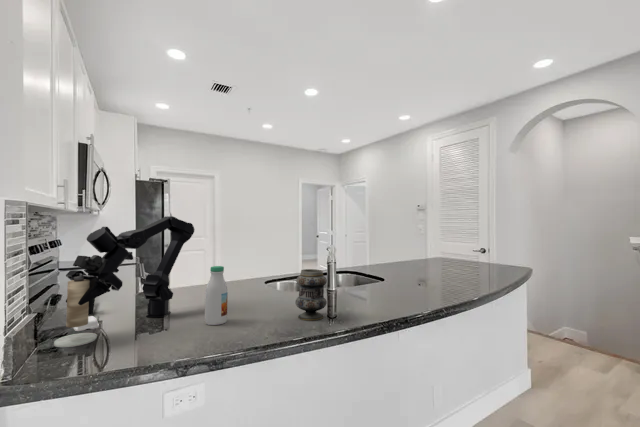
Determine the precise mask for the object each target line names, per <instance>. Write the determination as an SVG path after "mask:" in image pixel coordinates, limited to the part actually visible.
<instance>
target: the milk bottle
mask: <svg viewBox="0 0 640 427" xmlns="http://www.w3.org/2000/svg"><path fill="white" fill-rule="evenodd" d="M224 269H225V267H224V266H222V265H216V266H215V265H213V266H211V267H210V269H209V270H210V278H209V280H208V281H207V285H206V287H205V293H204V294H205V298H204V323H205V325H209V326H216V325H217V326H218V325H223V324H225V323H227V322H228V296H229V294H228V293H229V292H228V285H227V283H226V280H225V277H224V271H225V270H224Z"/></svg>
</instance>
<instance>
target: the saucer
mask: <svg viewBox="0 0 640 427" xmlns="http://www.w3.org/2000/svg"><path fill="white" fill-rule="evenodd" d="M97 337H98V334H96V333H95V332H80V333H79V332H78V333H73V334H69V335H65V336H62V337H60V338H57V339H55V340H54V342H53V345H54V347H56V348H61V349H62V348H74V347H79V346H83V345H87V344H90V343H92V342H94V341H96V340H97V339H98V338H97Z"/></svg>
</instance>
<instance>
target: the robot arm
mask: <svg viewBox="0 0 640 427" xmlns="http://www.w3.org/2000/svg"><path fill="white" fill-rule="evenodd" d="M166 230H168V231H170V237H171V239H170V242H169V244H168V246H167V248H166V250H165V252H164V254H163V257H162V258H161V260H160V263H159V265H158V266H157V268H156V270H155V272H154V273H152V274H150V273H148V274H146V278H145V280H144V281H143V282H142V285H143V286H142V292H143V294H144V298H145V300H148V303H147V310H146V311H147V314H146V315H145V317H146V318H164V317H166V316H168V315H169V314H170V313H171V311H169V306H170V304H169V302H170V300H171V299H173V296H174V292H173V291H172V290H171V289H170V288H169V287H170V277H169V276H170V274H171V272H172V269H173V267H174V265H175V263H176V261H177V260H178V258H179V254H180V252H181V250H182V248H183V246H184V244H186V243H187V242H188V241H189V240H191V238H192V237H193V236H194V233H195V227H194V225H193V223H191V222H187V221H185V220H182V219H179V218H177V217H175V216H171V215H170V216H167V215H166V216H163V217H162V218H161V219H158V220H156V221H154V222H152V223H151V222H150V223H149V224H147V225H145V226H143V227H141V228H138V229H133V230H132V229H131V230H128V231H127V230H126V231H123V232H120V233H119V234H118V235H117V236H116V235H115V234H114V233H113V232H112V231H111V229H110V227H108V226H101V227H100V228H99V229H96V230H95V231H92V232H90V233H89V234H88V235H87V237H86V241H87V242H88V243H89V244H90V245H91V246H92V247H93V248H94V249H95V250H96V251H97V252H98V253H100V254H102V253H105V254H103V255H102V256H101V255H98V254H93V255H92V256H88V255H77V257H76V259H75V260H74V262H73V264H72V266H73V267H78V268H81V269H83V270H81V269H80V270H79V269H73V270H72V269H71V270H69V271H68V272H67V273H66V275H65V277H66V278H68V280H69V281H72V280H74V277H78V276H84V279H87V280H90V282H89V284H90V283H91V285H90V287H89V289H88V290H87V291H86V293H85V294H84V295H83V297H82V298H81V299H80V301H79V302H78V304H79V305H83V304H85V303H87V302H89V301H90V300H92V299H94V298H95V299H96V298H98V297H100V296H102V295H104V294H107V293H109V292H111V290H112V291H118V292H119V290H121V288H122V287H123V280H121V279H120V277H118V276H117V275H116V274H117V273H118V272H119V271H120V270H119V267H120V266H121V265H122V264H123V262H124V261H125V260H127V261H133V260H134V256H133V252H132V251H128V250H129V249H131V250H133V249H134V250H137V249H140V248H141V247H142V246H144V245H145V244H146V242H147V241H148V240H149V239H150V238H152V237H154V236H156V235H158V234H160V233H162V232H164V231H166ZM65 303H66V304H67V298H66V299H65Z"/></svg>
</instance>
